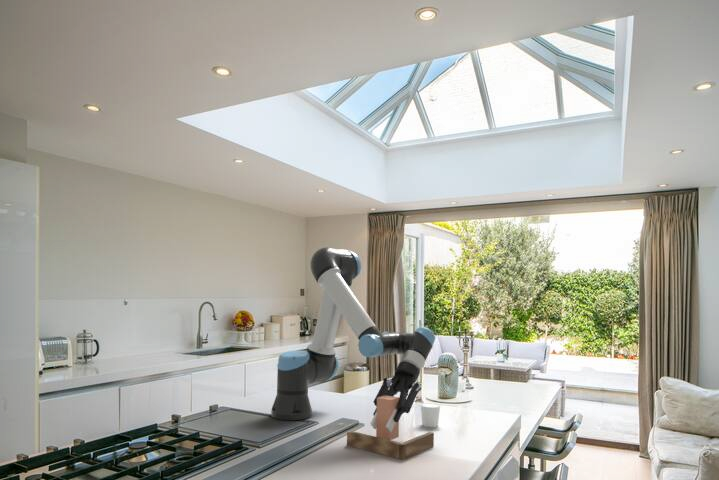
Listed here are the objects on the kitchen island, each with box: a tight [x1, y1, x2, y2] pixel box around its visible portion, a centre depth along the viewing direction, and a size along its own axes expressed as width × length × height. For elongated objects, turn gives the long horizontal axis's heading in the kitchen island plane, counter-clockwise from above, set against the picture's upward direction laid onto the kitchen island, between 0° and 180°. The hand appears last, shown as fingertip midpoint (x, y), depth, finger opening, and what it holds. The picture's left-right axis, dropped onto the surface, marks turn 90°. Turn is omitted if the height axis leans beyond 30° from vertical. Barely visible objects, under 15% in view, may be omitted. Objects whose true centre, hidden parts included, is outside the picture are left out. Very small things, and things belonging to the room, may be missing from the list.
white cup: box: [420, 403, 441, 428], centre depth 184 cm, size 7×7×7 cm
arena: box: [346, 430, 435, 461], centre depth 158 cm, size 20×18×4 cm
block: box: [375, 395, 400, 441], centre depth 159 cm, size 5×5×12 cm
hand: (380, 427), depth 156 cm, fingers closed on block, 5 cm apart
